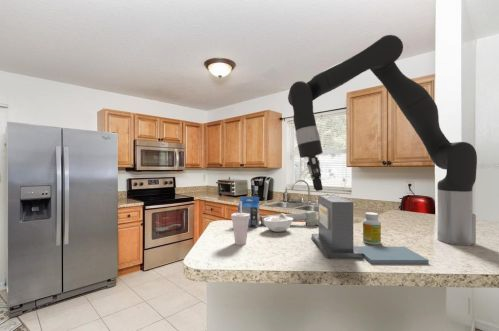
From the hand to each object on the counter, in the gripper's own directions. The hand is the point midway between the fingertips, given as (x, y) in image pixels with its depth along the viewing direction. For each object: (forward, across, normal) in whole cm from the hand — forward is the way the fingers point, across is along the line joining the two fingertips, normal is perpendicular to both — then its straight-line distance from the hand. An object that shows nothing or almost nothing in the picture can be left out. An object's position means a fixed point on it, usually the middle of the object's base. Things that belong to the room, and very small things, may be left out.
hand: (318, 189), depth 85 cm
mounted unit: (+18, -2, -1) cm, 19 cm away
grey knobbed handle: (+15, +26, +14) cm, 33 cm away
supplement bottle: (+21, +6, -14) cm, 26 cm away
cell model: (+14, +15, +18) cm, 27 cm away
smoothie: (+13, -3, +29) cm, 32 cm away
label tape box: (+12, +21, +30) cm, 39 cm away
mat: (+21, -8, -15) cm, 27 cm away
